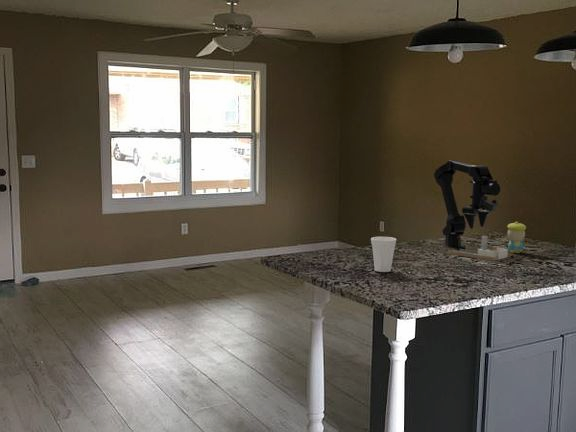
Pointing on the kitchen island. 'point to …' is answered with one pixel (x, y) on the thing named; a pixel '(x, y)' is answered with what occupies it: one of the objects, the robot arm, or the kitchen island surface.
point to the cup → (383, 252)
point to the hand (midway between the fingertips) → (476, 227)
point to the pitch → (472, 253)
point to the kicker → (483, 246)
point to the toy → (516, 237)
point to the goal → (498, 253)
